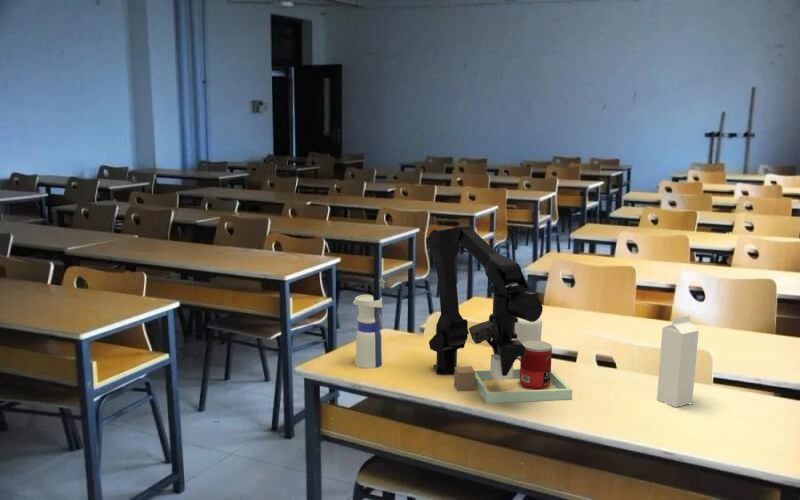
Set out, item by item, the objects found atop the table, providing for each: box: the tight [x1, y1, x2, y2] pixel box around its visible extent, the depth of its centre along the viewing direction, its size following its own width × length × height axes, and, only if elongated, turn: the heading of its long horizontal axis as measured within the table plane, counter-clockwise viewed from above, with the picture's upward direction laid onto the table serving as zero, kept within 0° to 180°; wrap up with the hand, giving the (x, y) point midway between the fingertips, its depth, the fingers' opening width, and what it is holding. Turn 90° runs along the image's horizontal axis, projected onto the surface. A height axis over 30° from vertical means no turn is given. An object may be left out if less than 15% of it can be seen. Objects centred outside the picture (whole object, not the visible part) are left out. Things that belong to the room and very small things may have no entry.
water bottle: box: [352, 276, 386, 369], centre depth 204 cm, size 8×9×25 cm
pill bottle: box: [513, 317, 543, 360], centre depth 212 cm, size 8×8×15 cm
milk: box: [656, 315, 699, 408], centre depth 178 cm, size 6×6×22 cm
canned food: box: [519, 340, 553, 390], centre depth 190 cm, size 8×8×11 cm
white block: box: [490, 353, 514, 380], centre depth 182 cm, size 4×4×5 cm
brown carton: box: [453, 365, 476, 392], centre depth 188 cm, size 4×4×5 cm
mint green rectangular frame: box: [474, 367, 573, 404], centre depth 188 cm, size 17×22×2 cm
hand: (501, 372), depth 182 cm, fingers closed on white block, 4 cm apart
